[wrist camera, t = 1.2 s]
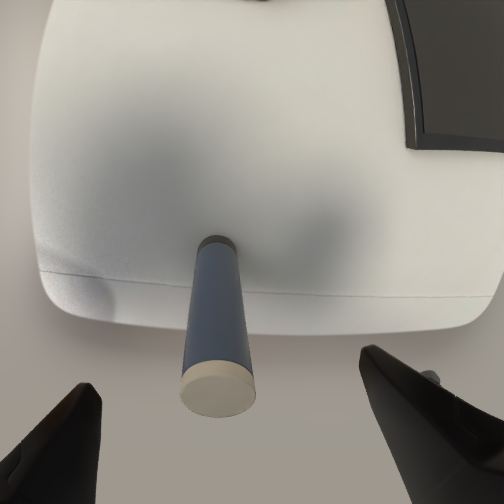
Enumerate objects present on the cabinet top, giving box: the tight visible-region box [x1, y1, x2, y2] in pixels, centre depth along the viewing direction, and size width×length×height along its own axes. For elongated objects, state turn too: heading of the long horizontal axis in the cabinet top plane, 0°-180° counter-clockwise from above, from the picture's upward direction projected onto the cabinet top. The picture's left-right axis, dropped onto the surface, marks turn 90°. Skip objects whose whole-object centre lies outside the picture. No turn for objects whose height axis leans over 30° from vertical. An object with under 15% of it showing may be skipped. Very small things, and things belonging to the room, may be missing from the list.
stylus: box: [180, 236, 256, 418], centre depth 12 cm, size 2×2×10 cm
